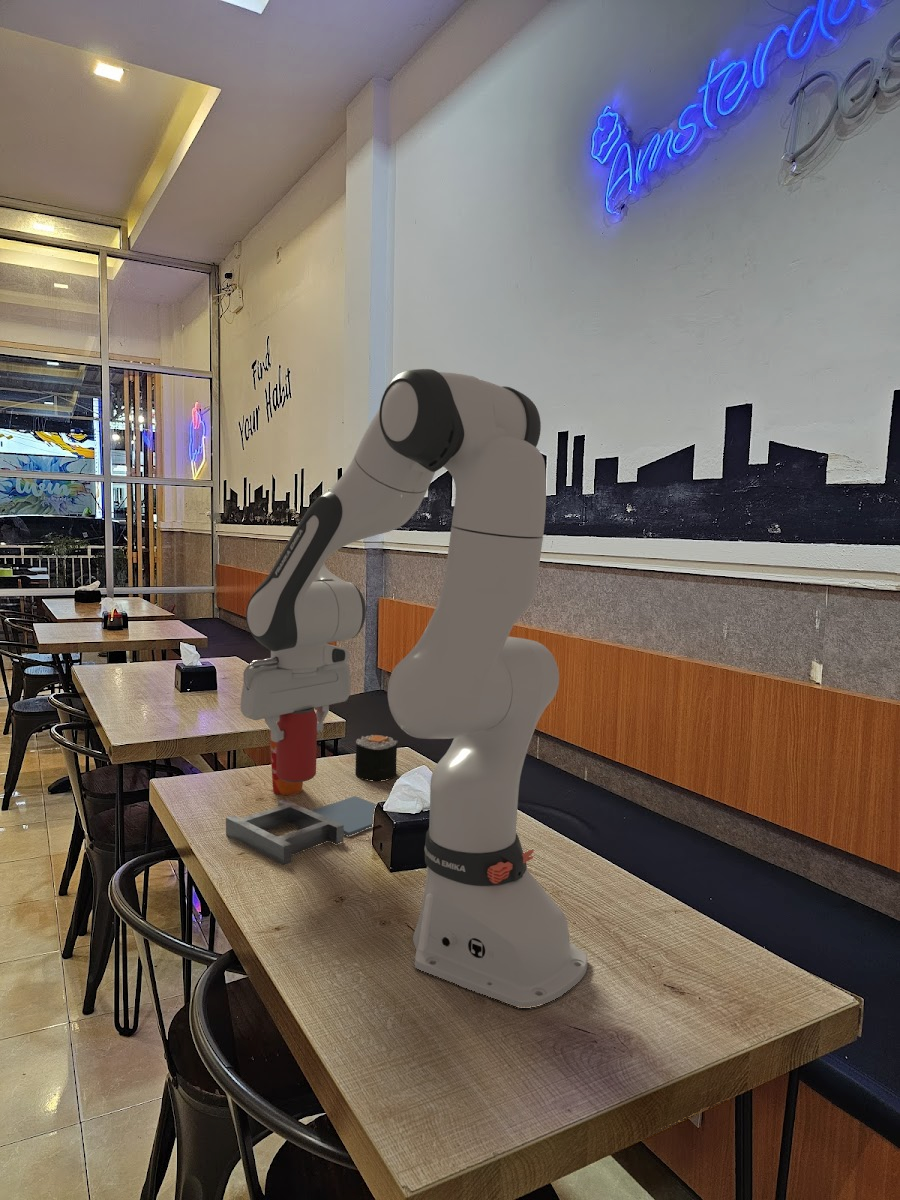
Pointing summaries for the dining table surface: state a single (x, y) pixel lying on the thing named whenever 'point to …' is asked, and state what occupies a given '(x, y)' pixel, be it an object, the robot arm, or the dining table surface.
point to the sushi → (376, 757)
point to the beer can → (297, 746)
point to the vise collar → (283, 847)
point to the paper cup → (278, 784)
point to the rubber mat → (350, 814)
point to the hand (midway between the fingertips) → (297, 736)
